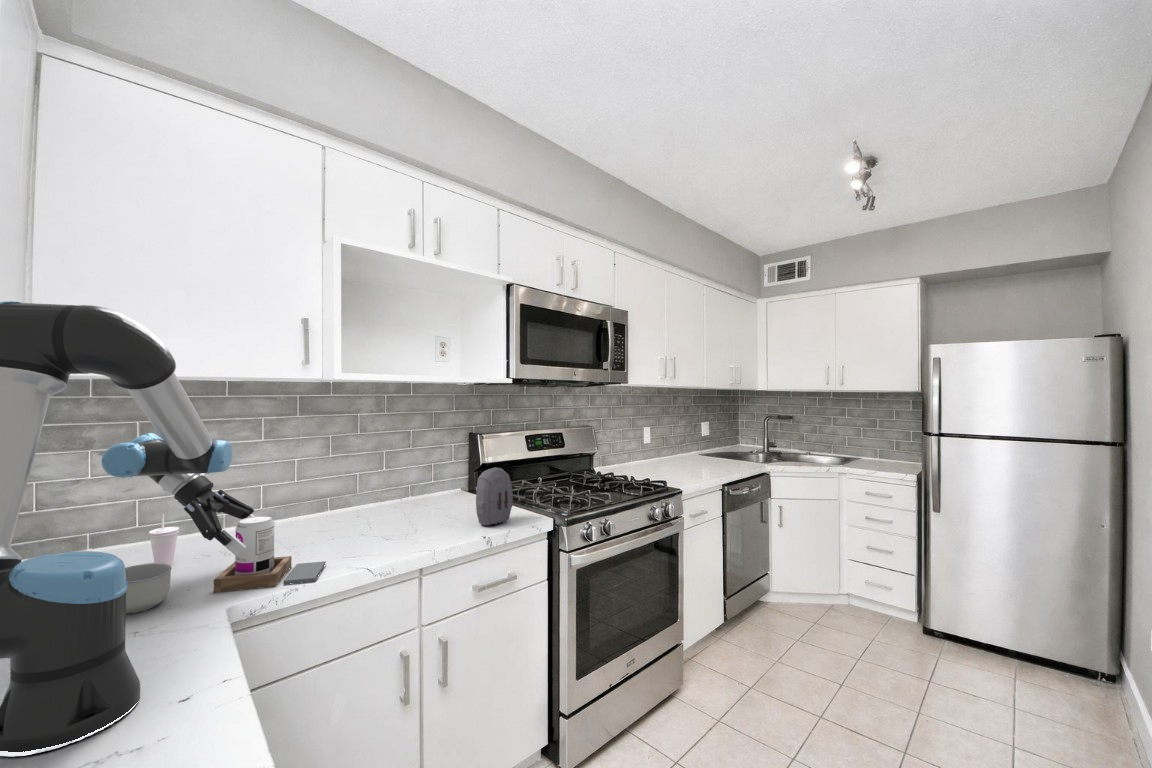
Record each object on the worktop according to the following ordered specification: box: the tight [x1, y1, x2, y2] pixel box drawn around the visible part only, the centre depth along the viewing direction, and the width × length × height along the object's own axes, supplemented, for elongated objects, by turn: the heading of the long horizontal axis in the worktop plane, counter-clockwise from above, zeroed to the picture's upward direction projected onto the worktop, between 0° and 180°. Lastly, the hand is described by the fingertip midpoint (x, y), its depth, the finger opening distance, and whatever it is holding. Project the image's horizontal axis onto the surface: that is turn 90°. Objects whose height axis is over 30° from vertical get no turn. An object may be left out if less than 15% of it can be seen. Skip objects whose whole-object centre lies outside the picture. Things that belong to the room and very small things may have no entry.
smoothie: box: [148, 513, 180, 567], centre depth 132 cm, size 6×6×14 cm
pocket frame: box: [213, 555, 292, 593], centre depth 123 cm, size 13×13×3 cm
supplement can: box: [234, 515, 275, 576], centre depth 123 cm, size 8×8×15 cm
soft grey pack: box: [475, 467, 514, 526], centre depth 173 cm, size 15×8×20 cm, turn 142°
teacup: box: [125, 562, 173, 614], centre depth 106 cm, size 14×11×8 cm
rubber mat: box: [282, 560, 327, 585], centre depth 126 cm, size 12×7×1 cm, turn 16°
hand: (254, 542), depth 124 cm, fingers open, 13 cm apart
